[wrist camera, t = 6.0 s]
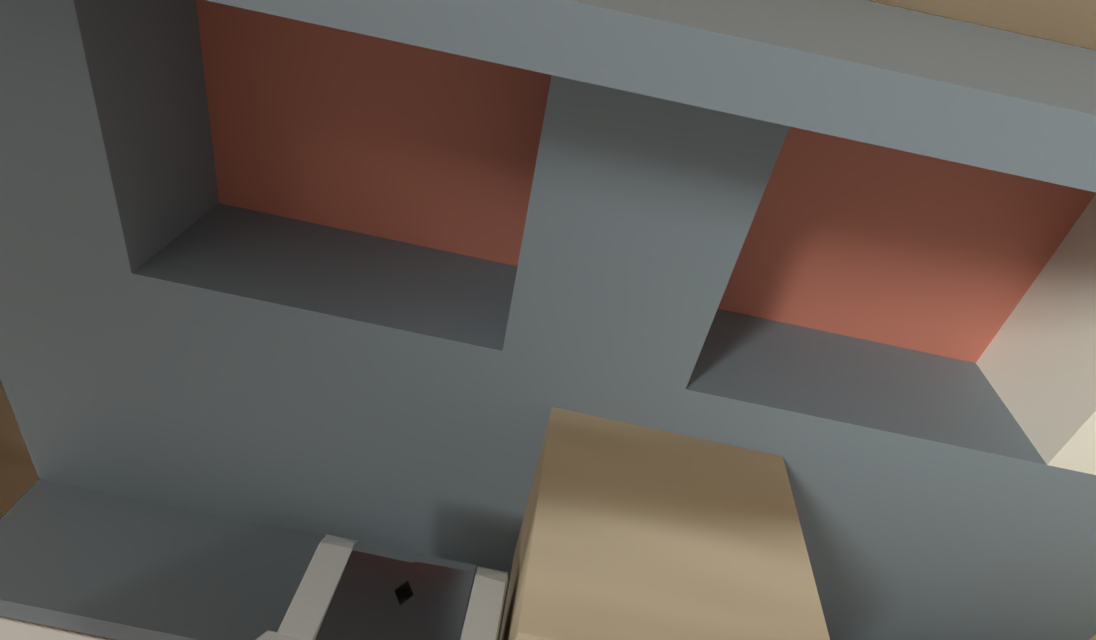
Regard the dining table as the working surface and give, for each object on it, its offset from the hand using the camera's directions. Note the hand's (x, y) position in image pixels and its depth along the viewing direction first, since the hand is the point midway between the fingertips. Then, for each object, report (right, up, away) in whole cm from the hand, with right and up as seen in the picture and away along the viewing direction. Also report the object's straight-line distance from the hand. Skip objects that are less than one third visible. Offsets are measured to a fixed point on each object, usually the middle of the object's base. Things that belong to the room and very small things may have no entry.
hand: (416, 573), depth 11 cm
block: (+4, +1, +2) cm, 4 cm away
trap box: (+4, +5, +3) cm, 6 cm away
